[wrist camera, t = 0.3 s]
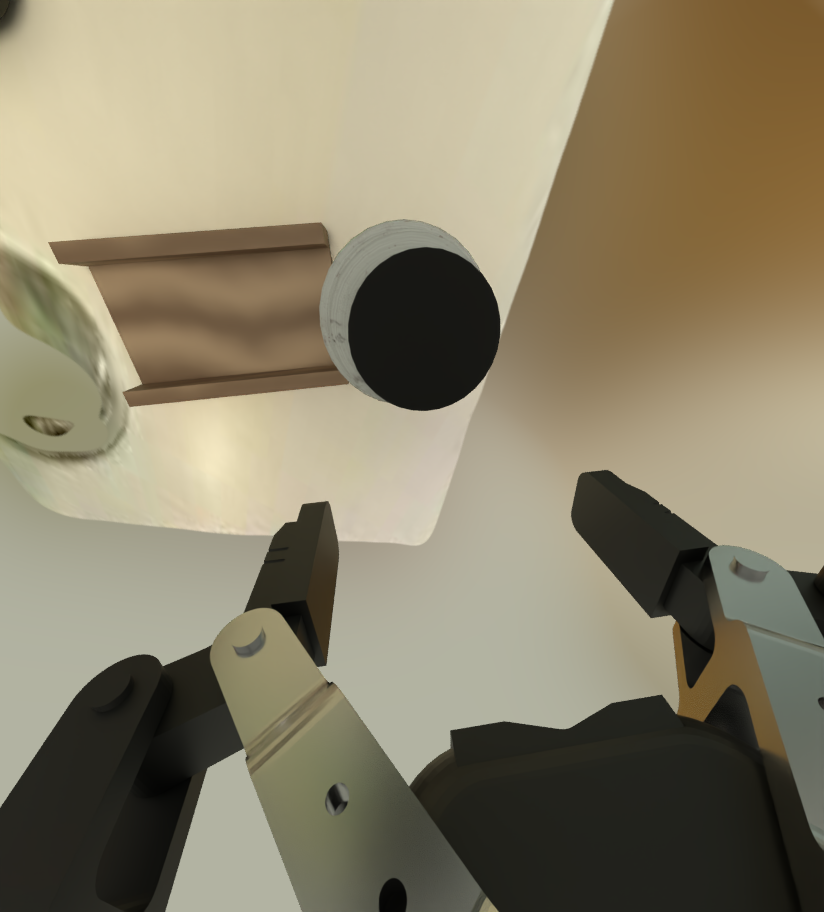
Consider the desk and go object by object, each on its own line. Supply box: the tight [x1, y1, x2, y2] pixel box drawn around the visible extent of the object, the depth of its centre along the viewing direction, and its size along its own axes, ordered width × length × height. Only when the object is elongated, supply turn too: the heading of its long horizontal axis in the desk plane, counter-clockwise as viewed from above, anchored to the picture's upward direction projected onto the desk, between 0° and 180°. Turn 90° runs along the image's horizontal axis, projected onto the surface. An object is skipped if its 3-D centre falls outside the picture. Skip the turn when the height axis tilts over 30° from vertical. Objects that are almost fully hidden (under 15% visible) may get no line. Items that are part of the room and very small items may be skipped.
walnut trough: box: [48, 223, 349, 407], centre depth 32 cm, size 14×22×4 cm, turn 94°
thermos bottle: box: [319, 219, 500, 411], centre depth 23 cm, size 8×8×28 cm
